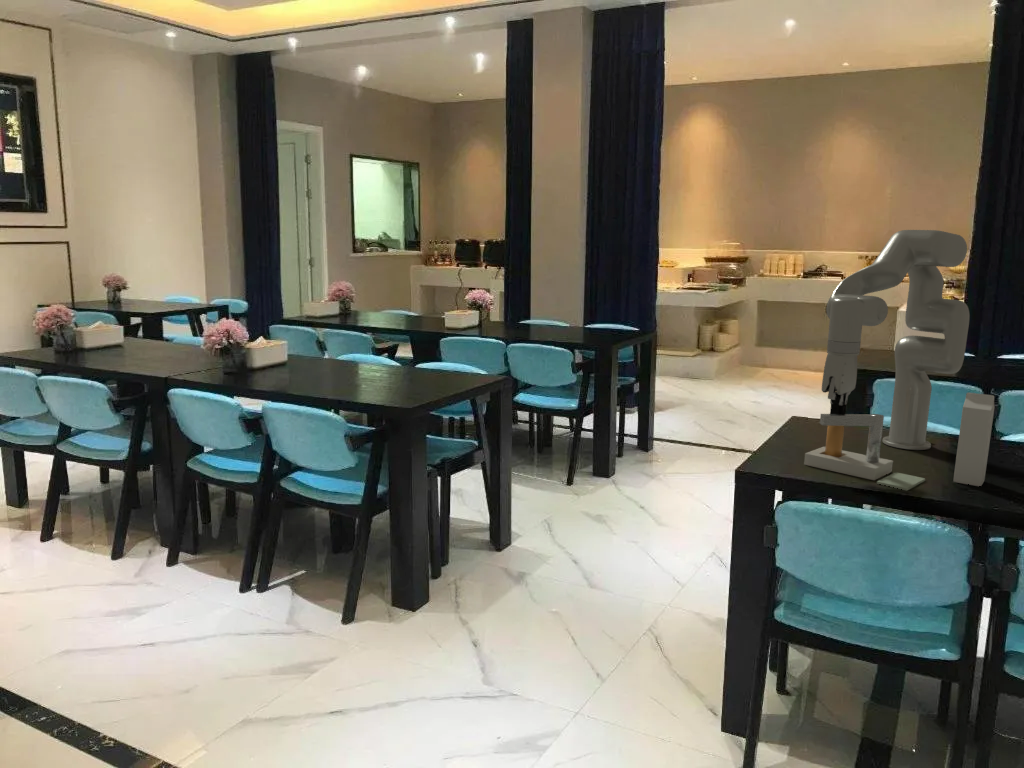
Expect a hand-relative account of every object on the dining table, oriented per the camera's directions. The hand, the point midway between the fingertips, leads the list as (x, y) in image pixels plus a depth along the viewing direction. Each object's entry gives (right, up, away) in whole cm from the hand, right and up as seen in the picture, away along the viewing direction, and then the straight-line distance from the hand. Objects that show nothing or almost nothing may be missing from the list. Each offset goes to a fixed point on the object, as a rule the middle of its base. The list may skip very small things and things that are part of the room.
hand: (837, 419), depth 203 cm
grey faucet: (+2, -10, -1) cm, 10 cm away
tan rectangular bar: (+2, -12, +7) cm, 14 cm away
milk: (+30, -15, -5) cm, 34 cm away
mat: (+13, -15, -7) cm, 21 cm away
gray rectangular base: (+4, -13, +4) cm, 14 cm away
